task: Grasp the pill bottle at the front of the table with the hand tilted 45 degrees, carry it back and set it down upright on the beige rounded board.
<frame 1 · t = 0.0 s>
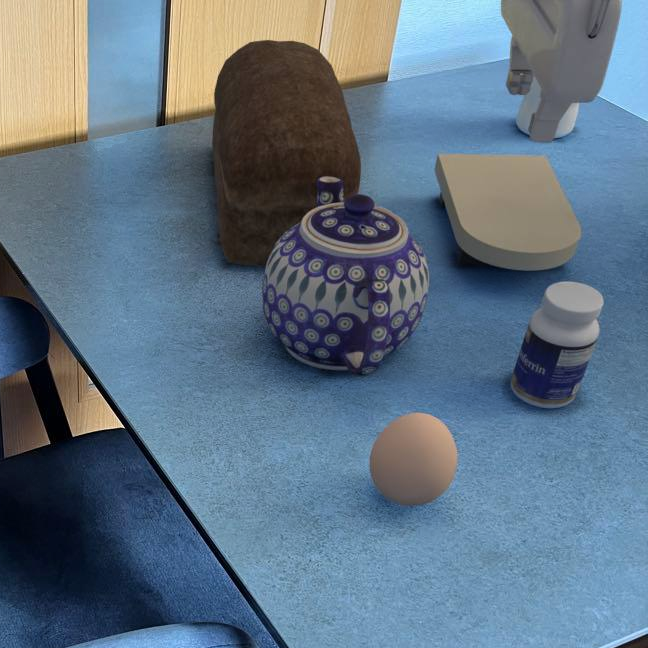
hand: (527, 114, 86), 21 cm above the table, tool pointing down, fingers open, 8 cm apart
beige rounded board: (496, 238, 113), on the table
teapot: (335, 343, 100), on the table
water bottle: (542, 130, 133), on the table
bread: (274, 205, 120), on the table
egg: (403, 498, 84), on the table
pill bottle: (541, 393, 93), on the table
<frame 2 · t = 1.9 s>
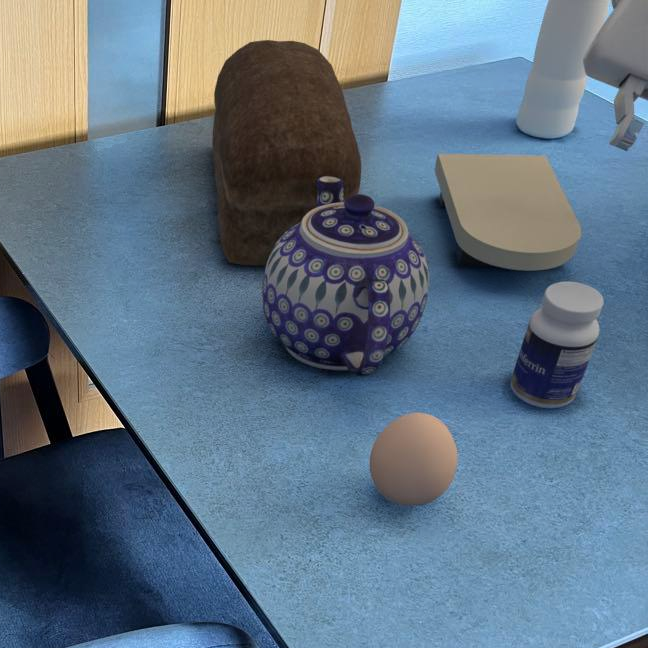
nothing on the table moved.
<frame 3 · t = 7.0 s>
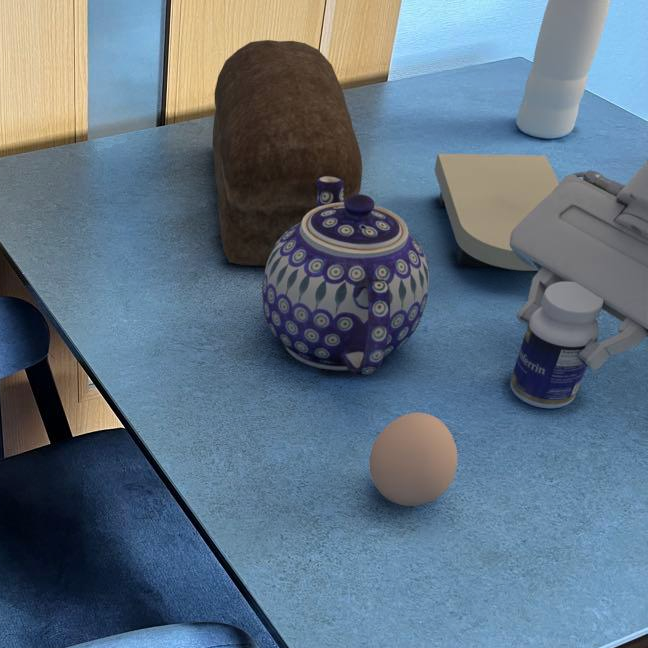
hand: (554, 343, 89), 5 cm above the table, tool tilted 45°, fingers closed on pill bottle, 6 cm apart
pill bottle: (541, 393, 93), on the table, touching gripper
everything else where it was.
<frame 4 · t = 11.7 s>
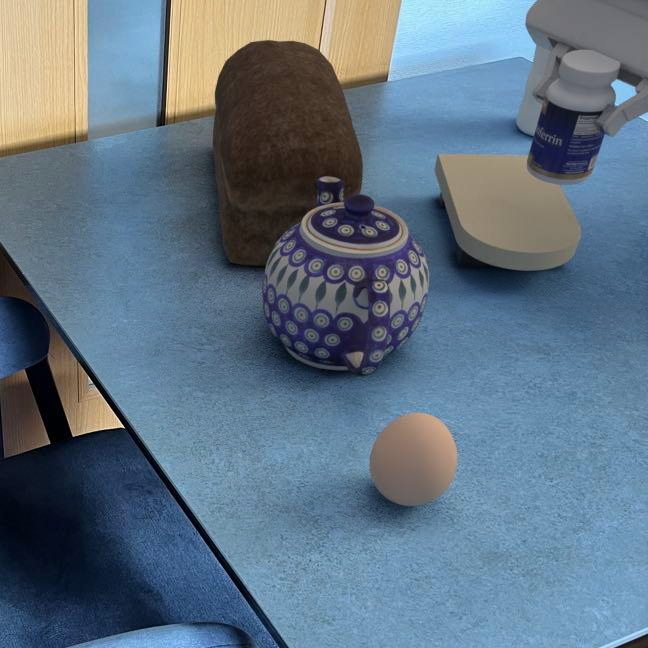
hand: (570, 115, 90), 19 cm above the table, tool tilted 45°, fingers closed on pill bottle, 6 cm apart
pill bottle: (556, 174, 94), point 14 cm above the table, touching gripper
everything else where it was.
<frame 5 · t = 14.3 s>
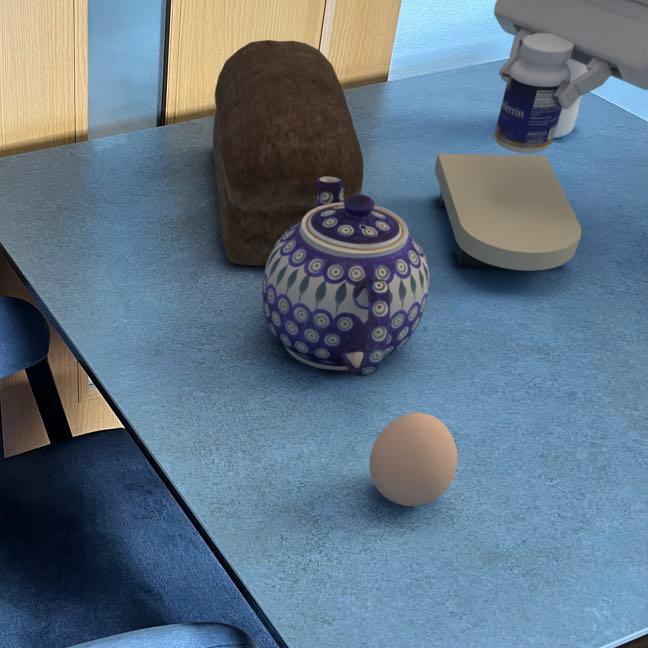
hand: (531, 91, 102), 16 cm above the table, tool tilted 45°, fingers closed on pill bottle, 6 cm apart
pill bottle: (521, 145, 106), point 10 cm above the table, touching gripper
everything else where it was.
when the fingers open (10 cm above the table, at t = 16.5 s): pill bottle stays where it is, resting on beige rounded board.
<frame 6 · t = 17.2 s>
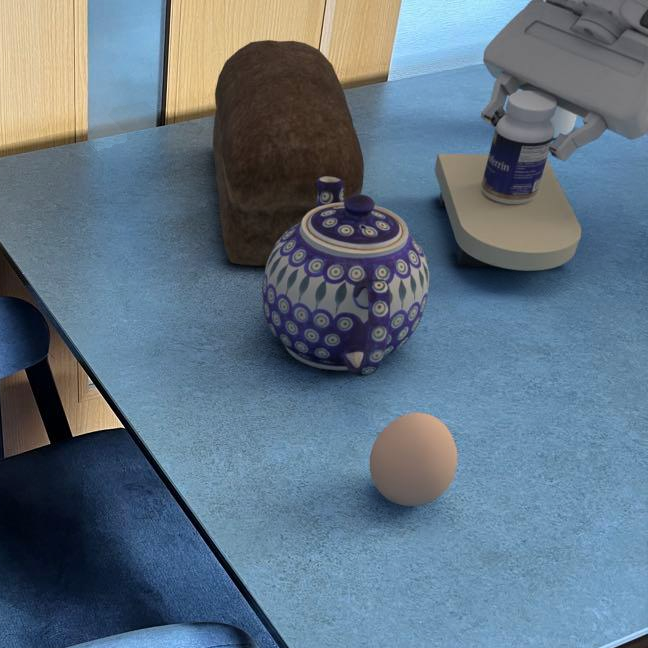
hand: (520, 138, 104), 11 cm above the table, tool tilted 45°, fingers open, 8 cm apart
pill bottle: (507, 195, 110), point 5 cm above the table, touching beige rounded board
everything else where it was.
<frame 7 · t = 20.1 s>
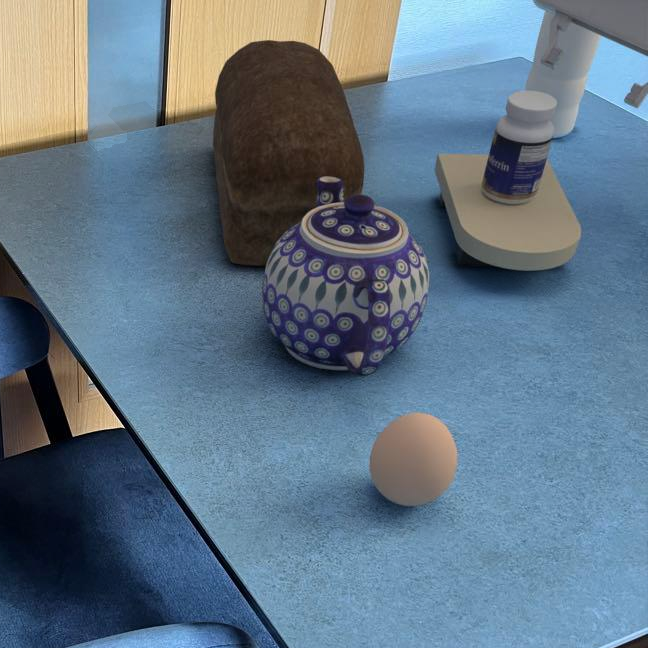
hand: (588, 85, 106), 15 cm above the table, tool tilted 30°, fingers open, 8 cm apart
nothing on the table moved.
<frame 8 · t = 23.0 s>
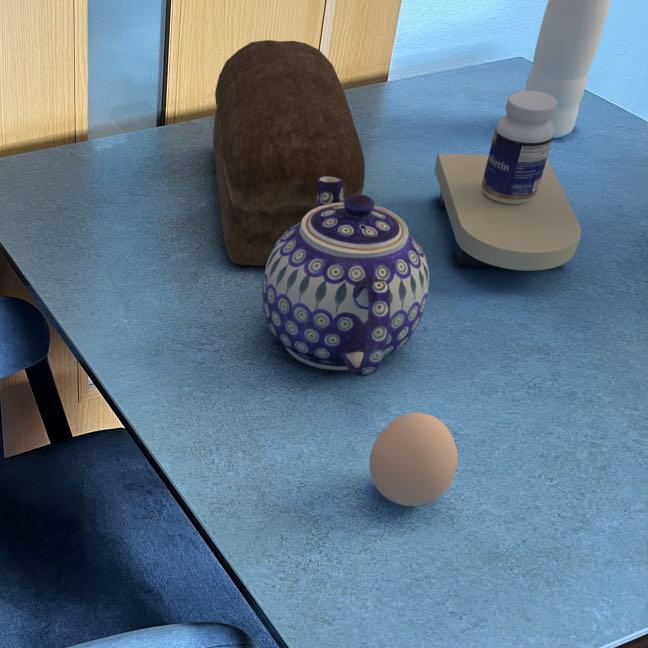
nothing on the table moved.
at the end: pill bottle inside the target area on the beige rounded board (0.9 cm from its centre), point 4.8 cm above the beige rounded board's base; pill bottle tilted 0°; the gripper is holding nothing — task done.
